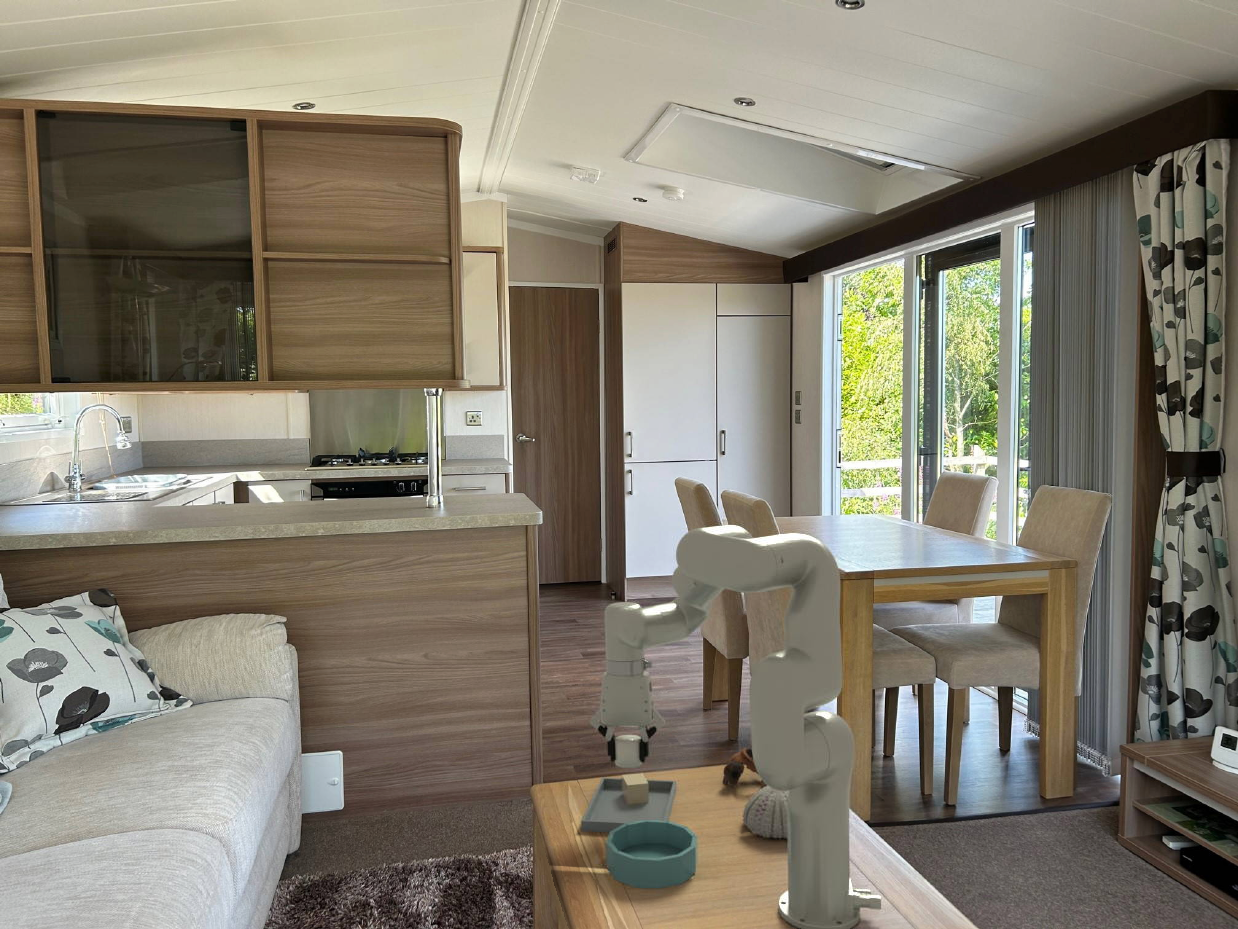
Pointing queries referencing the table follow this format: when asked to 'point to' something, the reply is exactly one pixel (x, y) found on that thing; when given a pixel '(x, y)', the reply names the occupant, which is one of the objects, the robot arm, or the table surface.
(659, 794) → the parts tray
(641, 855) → the bowl
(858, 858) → the table surface
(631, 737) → the pale stone
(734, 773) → the brown animal figurine
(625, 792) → the sand stone
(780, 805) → the sea urchin shell
